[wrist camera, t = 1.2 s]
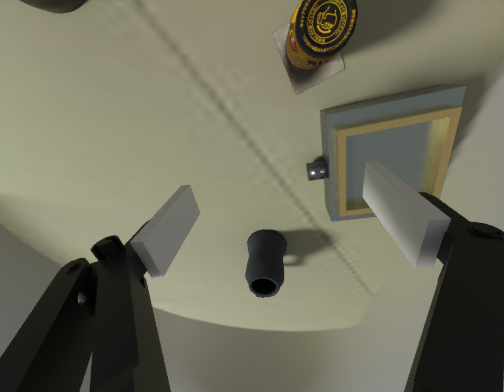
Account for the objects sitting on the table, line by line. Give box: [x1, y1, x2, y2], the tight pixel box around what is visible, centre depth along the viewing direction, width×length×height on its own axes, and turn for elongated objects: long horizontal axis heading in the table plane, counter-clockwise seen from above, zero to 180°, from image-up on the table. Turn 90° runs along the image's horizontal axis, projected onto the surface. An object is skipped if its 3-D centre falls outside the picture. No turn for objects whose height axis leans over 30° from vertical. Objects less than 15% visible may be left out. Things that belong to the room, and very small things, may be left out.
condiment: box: [273, 0, 358, 95], centre depth 23 cm, size 7×8×12 cm
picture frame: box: [306, 85, 467, 221], centre depth 31 cm, size 18×19×6 cm
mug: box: [245, 229, 287, 298], centre depth 42 cm, size 12×9×11 cm
